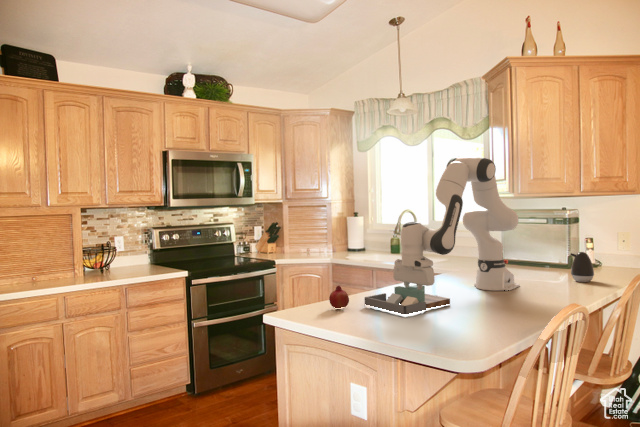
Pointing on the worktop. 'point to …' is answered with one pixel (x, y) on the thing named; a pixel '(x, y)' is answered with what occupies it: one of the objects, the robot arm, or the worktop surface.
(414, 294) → the scraper
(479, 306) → the worktop surface
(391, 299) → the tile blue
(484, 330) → the worktop surface
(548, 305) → the worktop surface
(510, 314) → the worktop surface
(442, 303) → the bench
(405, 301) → the tile cream
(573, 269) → the pump dispenser
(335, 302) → the fruit
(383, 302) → the tray
